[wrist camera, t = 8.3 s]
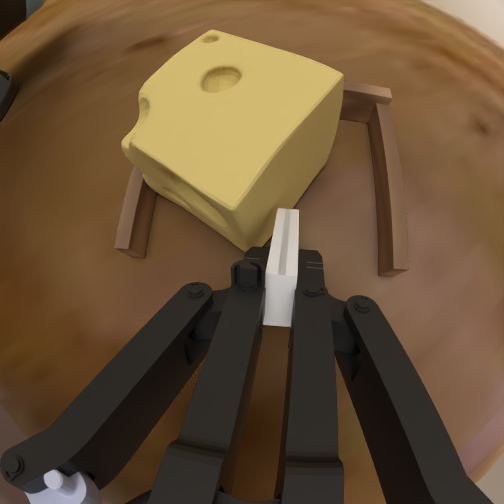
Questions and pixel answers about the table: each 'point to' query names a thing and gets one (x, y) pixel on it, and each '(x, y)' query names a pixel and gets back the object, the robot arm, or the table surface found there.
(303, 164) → the cheese
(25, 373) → the table surface
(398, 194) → the brown wooden u frame
